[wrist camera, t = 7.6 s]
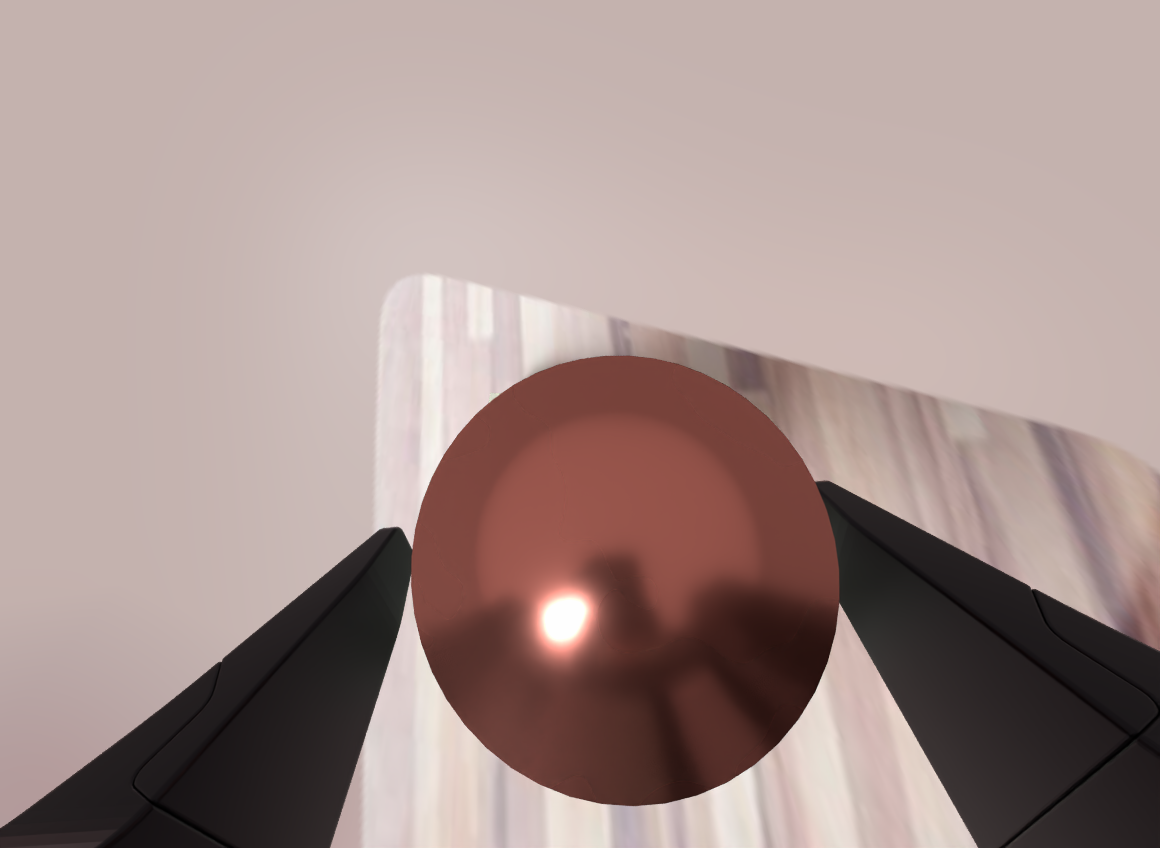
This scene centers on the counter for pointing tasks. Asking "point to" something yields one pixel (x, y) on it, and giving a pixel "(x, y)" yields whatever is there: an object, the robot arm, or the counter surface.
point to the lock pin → (625, 580)
